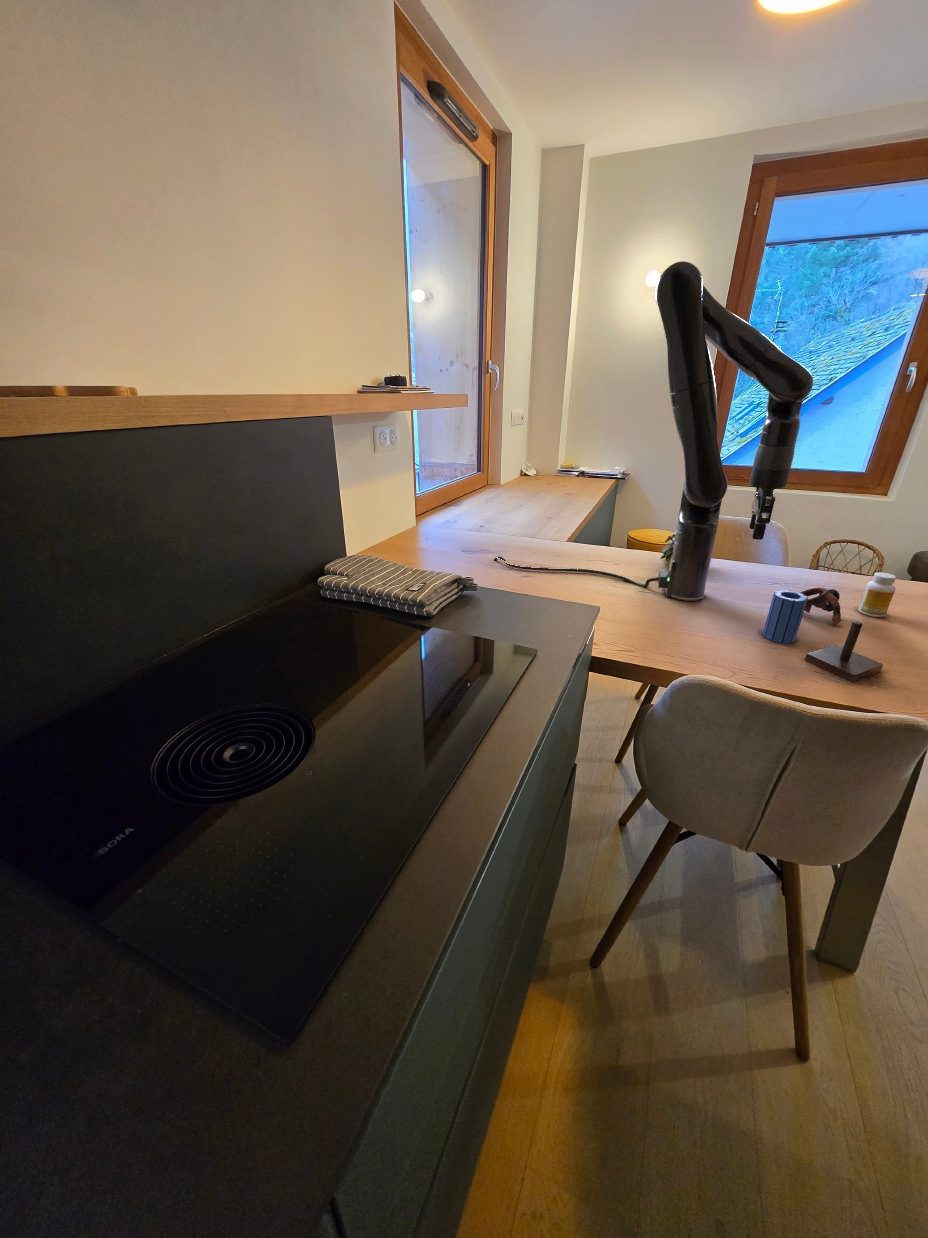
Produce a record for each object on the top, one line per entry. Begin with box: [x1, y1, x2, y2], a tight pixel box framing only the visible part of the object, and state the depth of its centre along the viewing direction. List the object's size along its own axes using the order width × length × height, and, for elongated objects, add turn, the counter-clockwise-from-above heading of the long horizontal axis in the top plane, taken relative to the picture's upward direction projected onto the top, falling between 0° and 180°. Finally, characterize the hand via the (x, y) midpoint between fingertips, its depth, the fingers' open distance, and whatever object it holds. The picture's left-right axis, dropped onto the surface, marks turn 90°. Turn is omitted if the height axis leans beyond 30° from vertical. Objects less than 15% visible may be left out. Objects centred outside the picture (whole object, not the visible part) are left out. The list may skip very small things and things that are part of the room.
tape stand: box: [804, 620, 884, 682], centre depth 95 cm, size 9×9×10 cm
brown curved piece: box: [799, 587, 842, 627], centre depth 117 cm, size 12×10×8 cm
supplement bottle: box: [857, 572, 897, 618], centre depth 117 cm, size 5×5×10 cm
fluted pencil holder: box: [762, 589, 809, 644], centre depth 106 cm, size 6×6×10 cm
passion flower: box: [659, 533, 676, 570], centre depth 151 cm, size 11×11×12 cm
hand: (755, 533), depth 119 cm, fingers open, 8 cm apart
